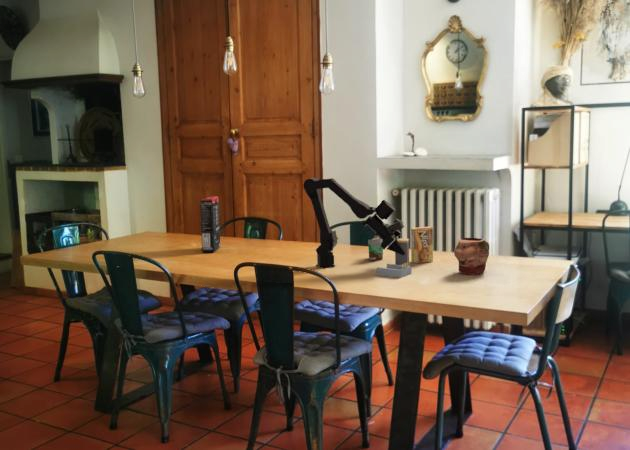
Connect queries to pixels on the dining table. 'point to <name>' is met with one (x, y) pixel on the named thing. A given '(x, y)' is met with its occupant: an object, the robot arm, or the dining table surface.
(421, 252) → the candy box
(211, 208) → the graphics card box
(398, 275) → the header shroud
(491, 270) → the dining table surface
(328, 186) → the robot arm
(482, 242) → the decorative planter
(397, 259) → the plug block
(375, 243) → the food container
